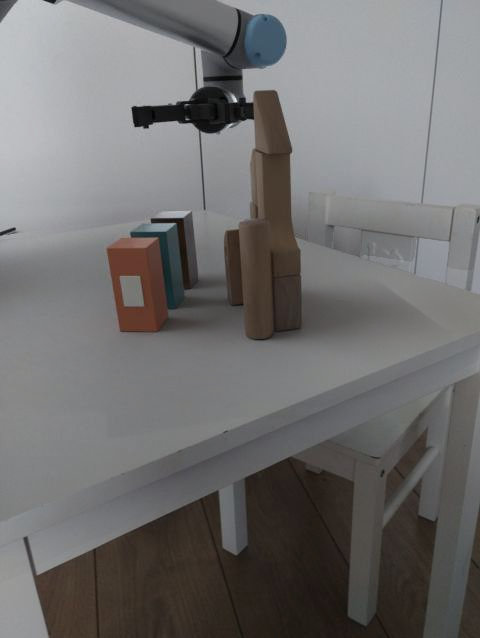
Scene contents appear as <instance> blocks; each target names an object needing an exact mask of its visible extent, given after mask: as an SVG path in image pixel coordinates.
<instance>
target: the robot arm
mask: <svg viewBox="0 0 480 638" xmlns="http://www.w3.org/2000/svg"><path fill="white" fill-rule="evenodd" d="M18 1H19V0H0V24H1V23H2V21H4V19H5V17H6V16H7V15H8V14H9V12H10V11H11V10H12V8H13V7H14V6H15V5H16V4H17V3H18ZM42 1H43V2H46V3H48V4H51V5H54V6H57V5H59V3H62V2H63V1H64V0H42ZM65 1H67V2H69V3H71V4H72V3H73V4H75V5H77V6H81V7H82V8H85V9H88V10H91V11H94V12H97V13H100V14H101V15H104V16H108V17H110V18H113V19H116V20H119V21H121V22H124V23H127V24H129V25H133V26H135V27H138V28H141V29H143V30H146V31H149V32H151V33H154V34H157V35H160V36H162V37H165V38H168V39H171V40H174V41H176V42H179V43H181V44H185V45H188V46H189V47H193V48H196V49H198V50H200V60H201V68H202V70H201V71H202V85H203V86H202V87H199V88H198V89H196V90H195V91H194V92H193V93H192V95H191V96H190V98H189V99H188V100H177V101H176V103H175V104H173V103H172V102H171V103H167V104H158V105H157V104H156V105H141V106H137V105H133V106H131V108H130V109H131V110H130V111H131V117H132V124H133V127H134V128H142V129H143V130H147V129H150V126H152V125H154V124H156V123H158V124H159V123H169V122H170V123H171V122H177V123H178V124H181V125H187V124H191V125H192V126H194V128H195V129H197V130H198V131H199V132H201V133H204V134H206V135H207V134H209V135H211V134H216V135H221V134H222V131H225V130H227V129H233V128H236V127H237V126H238V125H240V123H242V122H246V121H247V120H251V121H254V105H253V101H247V98H246V96H245V94H244V76H243V74H244V73H243V71H244V70H252V69H254V70H255V69H260V70H261V69H266V68H268V67H272V66H275V65H276V64H278V63H279V62H280V61H281V60H282V58H283V57H284V55H285V52H286V49H287V43H288V41H287V40H288V37H287V32H286V29H285V27H284V24H283V23H282V21H281V20H280V19H279V18H277V17H276V16H274V15H272V14H268V13H257V14H252V13H249V12H247V11H244V10H242V9H239V8H237V7H234V6H232V5H230V4H227V3H225V2H223V1H220V0H65ZM15 231H17V227H15V226H13V227H11V228H8V229H5V230H2V231H0V237H1V236H4V235H7V234H10V233H12V232H15Z"/></svg>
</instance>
